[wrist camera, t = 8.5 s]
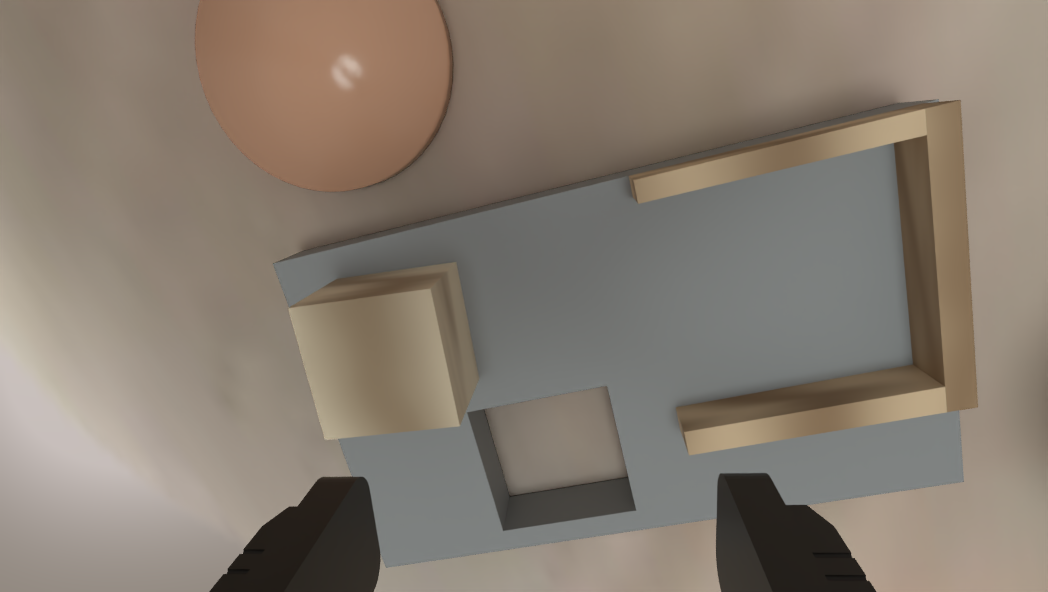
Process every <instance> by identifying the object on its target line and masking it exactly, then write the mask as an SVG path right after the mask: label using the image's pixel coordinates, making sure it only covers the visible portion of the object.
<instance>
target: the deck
mask: <svg viewBox="0 0 1048 592" xmlns="http://www.w3.org/2000/svg"><path fill="white" fill-rule="evenodd" d="M932 102H939V99H937V100H926V101H916V102H905V103H897V104H893V105H889V106H885V107H881V108H877V109H873V110H869V111H865V112H861V113H857V114H853V115H849V116H845V117H841V118H837V119H833V120H829V121H824V122H820V123H816V124H812V125H808V126H804V127H800V128H796V129H792V130H788V131H784V132H780V133H776V134H772V135H768V136H764V137H760V138H756V139H752V140H748V141H744V142H740V143H736V144H732V145H728V146H724V147H720V148H716V149H712V150H708V151H704V152H700V153H696V154H692V155H688V156H684V157H680V158H676V159H672V160H668V161H664V162H660V163H656V164H651V165H647V166H643V167H639V168H635V169H631V170H627V171H623V172H619V173H615V174H611V175H607V176H603V177H599V178H595V179H591V180H587V181H583V182H579V183H575V184H571V185H567V186H563V187H559V188H555V189H551V190H547V191H543V192H539V193H535V194H531V195H527V196H523V197H519V198H515V199H511V200H507V201H503V202H499V203H495V204H491V205H487V206H482V207H478V208H474V209H470V210H466V211H462V212H458V213H454V214H450V215H446V216H442V217H438V218H434V219H430V220H426V221H422V222H418V223H414V224H410V225H406V226H402V227H398V228H394V229H390V230H386V231H382V232H378V233H374V234H370V235H366V236H362V237H358V238H354V239H350V240H346V241H342V242H338V243H334V244H330V245H326V246H322V247H318V248H313V249H309V250H305V251H302V252H299V253H297V254H295V255H292V256H290V257H288V258H285V259H283V260H280V261H278V262H276V263H273V265H274V268H275V271H276V273H277V276H278V279H279V282H280V284H281V287H282V290H283V292H284V295H285V298H286V300H287V303H288V306H289V307H291V306H292V305H294V304H296V303H297V302H299V301H301V300H302V299H304V298H306V297H307V296H309V295H311V294H312V293H314V292H316V291H317V290H319V289H321V288H322V287H324V286H326V285H327V284H329V283H331V282H332V281H334V280H335V279H339V278H347V277H354V276H361V275H368V274H375V273H382V272H389V271H396V270H403V269H410V268H417V267H424V266H431V265H438V264H445V263H452V262H456V263H457V269H458V274H459V279H460V284H461V289H462V294H463V299H464V304H465V309H466V314H467V319H468V324H469V329H470V334H471V339H472V344H473V349H474V354H475V359H476V364H477V370H478V375H479V381H478V383H477V386H476V388H475V390H474V393H473V395H472V398H471V400H470V403H469V405H468V408H467V410H466V412H465V415H464V417H463V420H462V422H461V425H460V426H458V427H448V428H439V429H429V430H419V431H409V432H400V433H390V434H380V435H370V436H361V437H351V438H341V439H338V440H339V443H340V445H341V448H342V451H343V453H344V456H345V459H346V461H347V464H348V467H349V470H350V472H351V475H352V477H364V478H365V479H366V480H367V482H368V484H369V488H370V494H371V499H372V505H373V511H374V517H375V523H376V529H377V535H378V541H379V547H380V553H381V556H382V558H383V561H384V564H385V566H386V568H388V567H394V566H401V565H408V564H415V563H421V562H428V561H435V560H441V559H448V558H455V557H462V556H468V555H475V554H482V553H488V552H495V551H502V550H509V549H515V548H522V547H529V546H536V545H542V544H549V543H556V542H562V541H569V540H576V539H583V538H589V537H596V536H603V535H609V534H616V533H623V532H630V531H636V530H643V529H650V528H656V527H663V526H670V525H677V524H683V523H690V522H697V521H703V520H710V519H717V483H718V477H719V474H720V473H767V474H768V475H769V476H770V477H771V479H772V481H773V483H774V485H775V486H776V488H777V490H778V492H779V494H780V495H781V497H782V499H783V501H784V503H785V504H786V505H811V504H818V503H824V502H831V501H838V500H844V499H851V498H858V497H865V496H871V495H878V494H885V493H891V492H898V491H905V490H912V489H918V488H925V487H932V486H939V485H945V484H952V483H959V482H964V477H963V462H962V447H961V432H960V417H959V410H958V411H952V412H946V413H940V414H934V415H928V416H922V417H916V418H910V419H904V420H898V421H892V422H886V423H880V424H874V425H868V426H862V427H856V428H850V429H844V430H838V431H832V432H826V433H820V434H815V435H809V436H803V437H797V438H791V439H785V440H779V441H773V442H767V443H761V444H755V445H749V446H743V447H737V448H731V449H725V450H719V451H713V452H707V453H701V454H695V455H689V454H688V451H687V448H686V445H685V442H684V439H683V436H682V433H681V431H680V427H679V422H678V417H677V412H676V407H680V406H686V405H691V404H697V403H702V402H708V401H713V400H719V399H725V398H730V397H736V396H741V395H747V394H752V393H758V392H763V391H769V390H774V389H780V388H785V387H791V386H796V385H802V384H808V383H813V382H819V381H824V380H830V379H835V378H841V377H846V376H852V375H857V374H863V373H868V372H874V371H879V370H885V369H890V368H896V367H902V366H907V365H913V359H912V348H911V336H910V324H909V313H908V301H907V290H906V278H905V267H904V255H903V244H902V232H901V220H900V209H899V197H898V186H897V174H896V163H895V151H894V143H891V144H887V145H883V146H879V147H875V148H870V149H866V150H862V151H858V152H854V153H849V154H845V155H841V156H837V157H833V158H828V159H824V160H820V161H816V162H812V163H808V164H803V165H799V166H795V167H791V168H787V169H782V170H778V171H774V172H770V173H766V174H761V175H757V176H753V177H749V178H745V179H740V180H736V181H732V182H728V183H724V184H720V185H715V186H711V187H707V188H703V189H699V190H694V191H690V192H686V193H682V194H678V195H673V196H669V197H665V198H661V199H657V200H652V201H648V202H644V203H640V204H638V203H637V202H636V201H635V199H634V198H633V195H632V190H631V185H630V180H629V176H630V175H634V174H638V173H642V172H646V171H650V170H655V169H659V168H663V167H667V166H671V165H675V164H679V163H683V162H687V161H691V160H695V159H699V158H703V157H707V156H711V155H715V154H719V153H723V152H727V151H731V150H736V149H740V148H744V147H748V146H752V145H756V144H760V143H764V142H768V141H772V140H776V139H780V138H784V137H788V136H792V135H796V134H800V133H804V132H808V131H812V130H817V129H821V128H825V127H829V126H833V125H837V124H841V123H845V122H849V121H853V120H857V119H861V118H865V117H869V116H873V115H877V114H881V113H885V112H889V111H893V110H898V109H902V108H906V107H910V106H914V105H918V104H922V103H932ZM603 386H607V388H608V392H609V396H610V400H611V405H612V409H613V413H614V418H615V422H616V426H617V430H618V435H619V439H620V443H621V447H622V452H623V456H624V460H625V465H626V469H627V473H628V478H622V479H616V480H610V481H604V482H598V483H591V484H585V485H579V486H573V487H567V488H561V489H555V490H549V491H543V492H537V493H530V494H524V495H518V496H512V497H510V496H509V493H508V489H507V486H506V483H505V479H504V476H503V472H502V469H501V466H500V462H499V459H498V456H497V452H496V449H495V445H494V442H493V439H492V435H491V432H490V429H489V425H488V422H487V418H486V415H485V412H484V409H487V408H492V407H498V406H503V405H508V404H514V403H519V402H524V401H529V400H535V399H540V398H545V397H550V396H556V395H561V394H566V393H571V392H577V391H582V390H587V389H592V388H598V387H603Z"/></svg>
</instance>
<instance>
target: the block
mask: <svg viewBox="0 0 1048 592" xmlns="http://www.w3.org/2000/svg"><path fill="white" fill-rule="evenodd" d="M288 311H289V314H290V318H291V321H292V325H293V329H294V332H295V336H296V339H297V343H298V346H299V350H300V353H301V357H302V360H303V364H304V367H305V371H306V375H307V378H308V382H309V385H310V389H311V392H312V396H313V399H314V403H315V406H316V410H317V413H318V417H319V420H320V424H321V428H322V431H323V435H324V438H325V440H331V439H341V438H351V437H361V436H370V435H380V434H390V433H400V432H409V431H419V430H429V429H439V428H448V427H458V426H460V425H461V422H462V420H463V417H464V415H465V412H466V410H467V408H468V405H469V403H470V400H471V398H472V395H473V393H474V390H475V388H476V386H477V383H478V381H479V375H478V370H477V364H476V359H475V354H474V349H473V344H472V339H471V334H470V329H469V324H468V319H467V314H466V309H465V304H464V299H463V294H462V289H461V284H460V279H459V274H458V269H457V263H456V262H452V263H445V264H438V265H431V266H424V267H417V268H410V269H403V270H396V271H389V272H382V273H375V274H368V275H361V276H354V277H347V278H339V279H335V280H334V281H332V282H331V283H329V284H327V285H326V286H324V287H322V288H321V289H319V290H317V291H316V292H314V293H312V294H311V295H309V296H307V297H306V298H304V299H302V300H301V301H299V302H297V303H296V304H294V305H292V306H291V307H289V308H288Z"/></svg>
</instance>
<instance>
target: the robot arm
mask: <svg viewBox="0 0 1048 592" xmlns="http://www.w3.org/2000/svg"><path fill="white" fill-rule="evenodd" d="M716 561H717V571H718V577H719V583H720V588H721V592H876V591H875V589H874V587H873V586H872V584H871V583H870V581H867V580H866V575H865V573H864V572H863V570H862V569H861V567H860V566H859V564H858V563H857V561H856V560H855V558H852V556H851V552H850V550H849V549H848V547H847V546H846V544H845V543H844V541H843V539H842V538H841V536H840V535H839V533H838V532H837V530H836V529H835V527H834V526H833V525H832V524H830V523H829V522H828V521H826V520H825V519H824V518H823V517H821V516H820V515H819V514H817V513H816V512H815V511H814V510H812V509H811V508H810V507H808V506H807V505H786V504H785V503H784V501H783V499H782V497H781V495H780V494H779V492H778V490H777V488H776V486H775V485H774V483H773V481H772V479H771V477H770V476H769V475H768V474H767V473H720V474H719V477H718V483H717V526H716ZM379 569H380V547H379V541H378V535H377V529H376V523H375V517H374V511H373V505H372V499H371V494H370V488H369V484H368V482H367V480H366V479H365V478H364V477H322V478H320V479H318V480H317V482H316V483H315V484H314V485H313V487H312V488H311V489H310V491H309V492H308V493H307V495H306V496H305V497H304V499H303V500H302V501H301V503H300V504H299V505H298V507H288V508H287V509H285V510H284V511H282V512H281V513H280V514H278V515H277V516H276V517H274V518H273V519H271V520H270V521H269V522H267V523H266V524H265V525H263V526H262V527H261V528H260V530H259V531H258V532H257V533H256V535H255V536H254V537H253V538H252V540H251V541H250V542H249V543H248V544H247V546H246V547H245V548H244V552H243V554H239V556H238V557H237V558H236V559H235V561H234V562H233V563H232V564H231V566H230V567H229V568H228V572H227V574H223V576H222V577H221V578H220V579H219V581H218V582H217V583H216V584H215V585H214V587H213V588H212V589H211V590H210V592H374V589H375V587H376V584H377V580H378V576H379Z"/></svg>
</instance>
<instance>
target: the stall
mask: <svg viewBox="0 0 1048 592" xmlns="http://www.w3.org/2000/svg"><path fill="white" fill-rule="evenodd" d="M891 143H894V151H895V163H896V174H897V186H898V197H899V209H900V220H901V232H902V244H903V255H904V267H905V278H906V290H907V301H908V313H909V324H910V336H911V348H912V359H913V365H907V366H902V367H896V368H890V369H885V370H879V371H874V372H868V373H863V374H857V375H852V376H846V377H841V378H835V379H830V380H824V381H819V382H813V383H808V384H802V385H796V386H791V387H785V388H780V389H774V390H769V391H763V392H758V393H752V394H747V395H741V396H736V397H730V398H725V399H719V400H713V401H708V402H702V403H697V404H691V405H686V406H680V407H676V412H677V417H678V422H679V427H680V431H681V433H682V436H683V439H684V442H685V445H686V448H687V451H688V454H689V455H695V454H701V453H707V452H713V451H719V450H725V449H731V448H737V447H743V446H749V445H755V444H761V443H767V442H773V441H779V440H785V439H791V438H797V437H803V436H809V435H815V434H820V433H826V432H832V431H838V430H844V429H850V428H856V427H862V426H868V425H874V424H880V423H886V422H892V421H898V420H904V419H910V418H916V417H922V416H928V415H934V414H940V413H946V412H952V411H958V410H964V409H970V408H976V407H978V400H977V382H976V365H975V347H974V330H973V312H972V294H971V277H970V259H969V242H968V224H967V206H966V189H965V171H964V154H963V136H962V118H961V101H960V100H955V101H944V102H932V103H922V104H918V105H914V106H910V107H906V108H902V109H898V110H893V111H889V112H885V113H881V114H877V115H873V116H869V117H865V118H861V119H857V120H853V121H849V122H845V123H841V124H837V125H833V126H829V127H825V128H821V129H817V130H812V131H808V132H804V133H800V134H796V135H792V136H788V137H784V138H780V139H776V140H772V141H768V142H764V143H760V144H756V145H752V146H748V147H744V148H740V149H736V150H731V151H727V152H723V153H719V154H715V155H711V156H707V157H703V158H699V159H695V160H691V161H687V162H683V163H679V164H675V165H671V166H667V167H663V168H659V169H655V170H650V171H646V172H642V173H638V174H634V175H630V176H629V180H630V185H631V190H632V195H633V198H634V199H635V201H636V202H637V203H638V204H640V203H644V202H648V201H652V200H657V199H661V198H665V197H669V196H673V195H678V194H682V193H686V192H690V191H694V190H699V189H703V188H707V187H711V186H715V185H720V184H724V183H728V182H732V181H736V180H740V179H745V178H749V177H753V176H757V175H761V174H766V173H770V172H774V171H778V170H782V169H787V168H791V167H795V166H799V165H803V164H808V163H812V162H816V161H820V160H824V159H828V158H833V157H837V156H841V155H845V154H849V153H854V152H858V151H862V150H866V149H870V148H875V147H879V146H883V145H887V144H891Z"/></svg>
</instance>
